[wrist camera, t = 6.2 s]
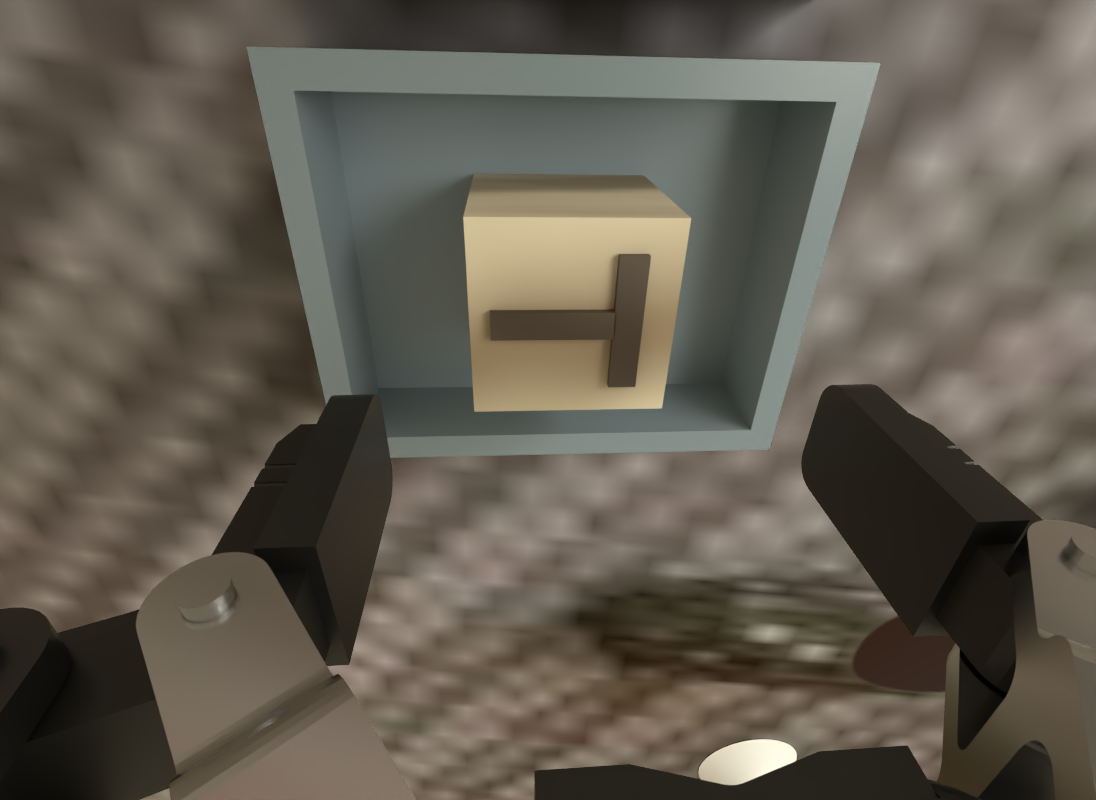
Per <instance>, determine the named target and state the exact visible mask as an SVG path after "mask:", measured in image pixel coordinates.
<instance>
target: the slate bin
mask: <svg viewBox="0 0 1096 800" xmlns="http://www.w3.org/2000/svg"><path fill="white" fill-rule="evenodd" d="M246 48H247V52H248V57H249V61H250V66H251V70H252V75H253V79H254V83H255V88H256V92H257V97H258V101H259V106H260V110H261V115H262V119H263V124H264V128H265V133H266V137H267V142H268V146H269V151H270V155H271V160H272V164H273V169H274V173H275V178H276V182H277V187H278V191H279V196H280V200H281V205H282V209H283V214H284V218H285V223H286V227H287V232H288V236H289V241H290V245H291V250H292V254H293V259H294V263H295V268H296V272H297V277H298V281H299V286H300V290H301V295H302V299H303V304H304V308H305V313H306V317H307V322H308V326H309V331H310V335H311V339H312V344H313V348H314V353H315V357H316V362H317V366H318V371H319V375H320V380H321V384H322V389H323V393H324V398H325V402H326V405H327V403H328V401H329V399H330V397H331V396H333V395H364V394H377V395H378V396H379V398H380V401H381V405H382V410H383V416H384V422H385V428H386V434H387V440H388V446H389V452H390V458H408V457H453V456H497V455H542V454H586V453H631V452H675V451H720V450H764V449H769V448H770V445H771V441H772V438H773V434H774V431H775V428H776V424H777V421H778V417H779V414H780V410H781V407H782V403H783V400H784V396H785V393H786V389H787V386H788V383H789V379H790V376H791V372H792V369H793V365H794V362H795V358H796V355H797V351H798V348H799V344H800V341H801V337H802V334H803V331H804V327H805V324H806V320H807V317H808V313H809V310H810V306H811V303H812V299H813V296H814V292H815V289H816V286H817V282H818V279H819V275H820V272H821V268H822V265H823V261H824V258H825V254H826V251H827V247H828V244H829V241H830V237H831V234H832V230H833V227H834V223H835V220H836V216H837V213H838V209H839V206H840V202H841V199H842V195H843V192H844V189H845V185H846V182H847V178H848V175H849V171H850V168H851V164H852V161H853V157H854V154H855V150H856V147H857V144H858V140H859V137H860V133H861V130H862V126H863V123H864V119H865V116H866V112H867V109H868V105H869V102H870V99H871V95H872V92H873V88H874V85H875V81H876V78H877V74H878V71H879V67H880V64H881V63H869V62H840V61H811V60H773V59H734V58H696V57H657V56H618V55H579V54H540V53H502V52H463V51H424V50H385V49H347V48H308V47H246ZM474 173H485V174H574V175H644V176H645V177H646V178H647V179H648V180H650V181H651V182H652V183H653V184H654V185H655V186H656V187H657V188H658V189H660V190H661V191H662V192H663V193H664V194H665V195H666V196H667V197H668V198H670V199H671V200H672V201H673V202H674V203H675V204H676V205H677V206H678V207H680V208H681V209H682V210H683V211H684V212H685V213H686V214H687V215H688V216H689V217H691V224H690V230H689V237H688V243H687V250H686V256H685V263H684V269H683V276H682V282H681V289H680V295H679V301H678V308H677V314H676V321H675V327H674V334H673V340H672V347H671V353H670V360H669V366H668V373H667V379H666V386H665V392H664V398H663V405H662V408H658V409H600V410H542V411H483V412H474V398H473V380H472V362H471V345H470V327H469V310H468V292H467V274H466V257H465V239H464V222H463V216H464V212H465V208H466V204H467V200H468V196H469V192H470V188H471V184H472V180H473V176H474Z"/></svg>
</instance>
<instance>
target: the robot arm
mask: <svg viewBox="0 0 1096 800" xmlns="http://www.w3.org/2000/svg"><path fill="white" fill-rule="evenodd" d="M802 474H803V478H804V481H805V483H806V485H807V487H808V489H809V490H810V491H811V493H812V494H813V496H814V497H815V499H816V500H817V501H818V503H819V504H820V506H821V507H822V508H823V510H824V511H825V513H826V514H827V515H828V517H829V518H830V520H831V521H832V523H833V524H834V525H835V527H836V528H837V530H838V531H839V532H840V534H841V535H842V537H843V538H844V539H845V541H846V542H847V544H848V545H849V547H850V548H851V549H852V551H853V552H854V554H855V555H856V556H857V558H858V559H859V561H860V562H861V564H862V565H863V566H864V568H865V569H866V571H867V572H868V573H869V575H870V576H871V578H872V579H873V580H874V582H875V583H876V585H877V586H878V588H879V589H880V590H881V592H882V593H883V595H884V596H885V597H886V599H887V600H888V602H889V603H890V604H891V606H892V607H893V609H894V610H895V612H896V613H897V614H898V616H899V617H900V619H901V620H902V621H903V623H904V624H905V625H906V627H907V628H908V630H909V631H910V633H911V634H912V636H914V637H918V636H936V635H950V636H951V638H952V639H953V640H954V642H955V643H956V644H955V646H954V647H953V649H952V650H951V652H950V654H949V655H948V659H947V671H946V691H945V711H944V732H943V752H942V764H941V770H940V774H939V778H938V781H937V782H935V781H932V780H928V779H927V778H926V776H925V775H924V773H923V771H922V769H921V768H920V766H919V764H918V763H917V761H916V759H915V758H914V756H913V754H912V752H911V751H910V749H909V747H908V746H895V747H880V748H865V749H850V750H835V751H820V752H817V753H814V754H812V755H810V756H807V757H805V758H802V759H800V760H798V761H795V762H793V763H790V764H788V765H786V766H783V767H781V768H778V769H776V770H774V771H771V772H769V773H766V774H764V775H762V776H759V777H757V778H754V779H752V780H750V781H747V782H745V783H742V784H738V785H724V784H719V783H714V782H710V781H705V780H700V779H696V778H691V777H686V776H682V775H677V774H672V773H668V772H663V771H658V770H654V769H649V768H644V767H639V766H635V765H630V764H627V765H612V766H597V767H583V768H568V769H553V770H538V771H535V800H1096V529H1095V528H1092V527H1089V526H1086V525H1082V524H1079V523H1075V522H1070V521H1065V520H1042V519H1041V518H1040V517H1039V516H1038V515H1036V514H1035V513H1034V512H1033V511H1032V510H1031V509H1029V508H1028V507H1027V506H1026V505H1025V504H1024V503H1022V502H1021V501H1020V500H1019V499H1018V498H1017V497H1015V496H1014V495H1013V494H1012V493H1011V492H1010V491H1008V490H1007V489H1006V488H1005V487H1004V486H1003V485H1001V484H1000V483H999V482H998V481H997V480H996V479H994V478H993V477H992V476H991V475H990V474H989V473H987V472H986V471H985V470H984V469H983V468H982V467H980V466H979V465H974V461H973V460H972V459H971V458H970V457H969V456H968V455H966V454H965V453H964V452H963V451H962V450H961V449H956V448H955V444H954V443H952V442H951V441H950V440H949V439H948V438H947V437H945V436H944V435H943V434H942V433H941V432H940V431H938V430H937V429H936V428H935V427H934V426H932V425H930V424H928V423H926V422H925V421H923V420H921V419H919V418H917V417H915V416H913V415H911V414H910V413H908V412H907V411H906V410H905V409H903V408H902V407H901V406H900V405H899V404H898V403H897V402H895V401H894V400H893V399H892V398H891V397H890V396H889V395H887V394H886V393H885V392H884V391H883V390H882V389H881V388H879V387H878V386H876V385H872V384H861V385H831V386H829V387H827V388H826V389H825V390H824V391H823V393H822V395H821V397H820V400H819V403H818V406H817V409H816V413H815V416H814V419H813V422H812V425H811V429H810V432H809V435H808V438H807V441H806V444H805V448H804V451H803V455H802ZM391 495H392V465H391V458H390V452H389V446H388V440H387V434H386V428H385V422H384V416H383V410H382V405H381V401H380V398H379V396H378V395H377V394H364V395H333V396H331V397H330V399H329V401H328V403H327V405H326V407H325V408H324V410H323V412H322V414H321V416H320V418H319V420H318V422H317V424H304V425H299V426H298V427H297V428H296V429H294V430H293V431H292V432H291V433H289V434H288V435H287V436H285V437H284V438H283V439H282V440H280V441H279V442H278V443H277V444H276V446H275V448H274V449H273V451H272V453H271V455H270V456H269V458H268V460H267V461H266V463H265V469H262V470H261V472H260V473H259V475H258V477H257V478H256V480H255V482H254V487H251V489H250V490H249V492H248V494H247V496H246V497H245V499H244V501H243V502H242V504H241V506H240V508H239V509H238V511H237V513H236V514H235V516H234V518H233V520H232V521H231V523H230V525H229V526H228V528H227V530H226V531H225V533H224V535H223V537H222V538H221V540H220V542H219V543H218V545H217V547H216V549H215V550H214V552H213V554H212V555H211V556H208V557H204V558H201V559H199V560H196V561H194V562H191V563H189V564H187V565H185V566H183V567H181V568H180V569H178V570H177V571H175V572H173V573H172V574H170V575H169V576H168V577H166V578H165V579H164V580H163V581H161V582H160V583H159V584H158V585H157V586H156V587H155V588H154V589H153V590H152V591H151V592H150V594H149V595H148V596H147V597H146V599H145V600H144V602H143V604H142V605H141V607H140V609H139V610H136V611H133V612H130V613H127V614H123V615H120V616H116V617H112V618H109V619H105V620H102V621H98V622H95V623H91V624H88V625H84V626H81V627H77V628H74V629H70V630H67V631H63V632H60V633H57V632H56V631H55V629H54V628H53V626H52V625H51V624H50V622H49V621H48V619H47V618H46V616H44V615H43V614H42V613H40V612H39V611H36V610H33V609H28V608H7V609H0V800H139V799H142V798H144V797H147V796H150V795H152V794H155V793H157V792H160V791H163V790H165V789H168V788H169V790H170V798H171V800H416V799H415V797H414V795H413V794H412V792H411V790H410V789H409V787H408V785H407V784H406V782H405V780H404V778H403V777H402V775H401V773H400V772H399V770H398V768H397V767H396V765H395V763H394V762H393V760H392V758H391V757H390V755H389V753H388V752H387V750H386V748H385V746H384V745H383V743H382V741H381V740H380V738H379V736H378V735H377V733H376V731H375V730H374V728H373V726H372V725H371V723H370V721H369V720H368V718H367V716H366V714H365V713H364V711H363V709H362V708H361V706H360V704H359V703H358V701H357V699H356V698H355V696H354V694H353V693H352V691H351V689H350V688H349V686H348V685H347V683H346V682H345V681H344V679H343V678H342V677H341V676H340V675H339V674H337V675H335V676H333V675H332V673H331V672H330V670H329V669H328V667H327V666H333V665H349V663H350V659H351V655H352V651H353V647H354V643H355V639H356V635H357V631H358V627H359V623H360V620H361V616H362V612H363V608H364V604H365V600H366V596H367V592H368V588H369V584H370V580H371V576H372V572H373V568H374V564H375V560H376V556H377V552H378V548H379V544H380V540H381V537H382V533H383V529H384V525H385V521H386V517H387V513H388V509H389V505H390V501H391Z"/></svg>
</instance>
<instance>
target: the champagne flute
mask: <svg viewBox="0 0 1096 800" xmlns="http://www.w3.org/2000/svg"><path fill="white" fill-rule="evenodd" d="M796 759H797V754H796V751H795V749H794V748H793V747H792V746H790V745H788V744H787V743H784V742H781V741H777V740H770V739H758V740H749V741H743V742H739V743H735V744H732V745H729V746H726V747H724V748H721V749H720V750H718V751H716V752H714V753H713V754H711V755H710V756H708V757H707V758H706V759H705V760H704V761H703V762H702V764H701V765H700V767H699V771H698V773H699V777H700V779H701V780H705V781H710V782H714V783H719V784H724V785H738V784H742V783H745V782H747V781H750V780H752V779H754V778H757V777H759V776H762V775H764V774H766V773H769V772H771V771H774V770H776V769H778V768H781V767H783V766H786V765H788V764H790V763H793V762H795V761H796Z"/></svg>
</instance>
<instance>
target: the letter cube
mask: <svg viewBox="0 0 1096 800" xmlns="http://www.w3.org/2000/svg"><path fill="white" fill-rule="evenodd" d="M463 222H464V239H465V257H466V274H467V292H468V310H469V327H470V345H471V362H472V380H473V398H474V412H483V411H542V410H600V409H658V408H662V405H663V398H664V392H665V386H666V379H667V373H668V366H669V360H670V353H671V347H672V340H673V334H674V327H675V321H676V314H677V308H678V301H679V295H680V289H681V282H682V276H683V269H684V263H685V256H686V250H687V243H688V237H689V230H690V224H691V217H689V216H688V215H687V214H686V213H685V212H684V211H683V210H682V209H681V208H680V207H678V206H677V205H676V204H675V203H674V202H673V201H672V200H671V199H670V198H668V197H667V196H666V195H665V194H664V193H663V192H662V191H661V190H660V189H658V188H657V187H656V186H655V185H654V184H653V183H652V182H651V181H650V180H648V179H647V178H646V177H645V176H644V175H574V174H485V173H474V176H473V180H472V184H471V188H470V192H469V196H468V200H467V204H466V208H465V212H464V216H463Z"/></svg>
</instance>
